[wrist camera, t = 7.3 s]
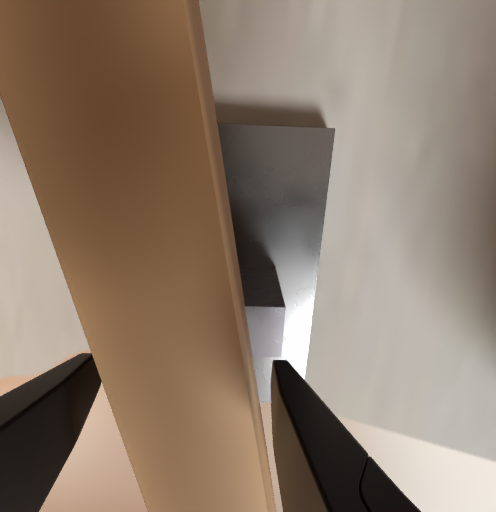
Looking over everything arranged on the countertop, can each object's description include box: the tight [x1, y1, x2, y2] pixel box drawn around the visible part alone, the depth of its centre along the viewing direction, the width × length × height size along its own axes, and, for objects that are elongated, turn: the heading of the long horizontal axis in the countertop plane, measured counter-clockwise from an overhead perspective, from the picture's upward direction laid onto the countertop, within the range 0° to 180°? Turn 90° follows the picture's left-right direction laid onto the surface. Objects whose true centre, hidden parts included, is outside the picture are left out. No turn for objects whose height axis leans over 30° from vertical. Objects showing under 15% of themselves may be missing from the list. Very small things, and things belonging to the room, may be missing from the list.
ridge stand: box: [217, 123, 335, 403], centre depth 13 cm, size 10×14×5 cm
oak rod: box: [0, 0, 276, 512], centre depth 9 cm, size 4×24×3 cm, turn 8°
